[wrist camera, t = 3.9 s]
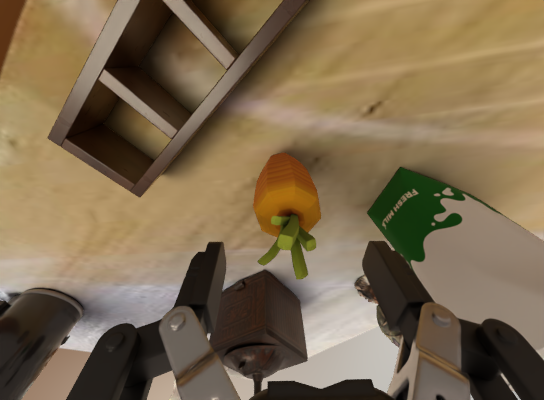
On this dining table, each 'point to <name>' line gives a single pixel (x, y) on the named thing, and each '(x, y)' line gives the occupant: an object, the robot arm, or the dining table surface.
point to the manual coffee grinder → (259, 328)
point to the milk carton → (465, 253)
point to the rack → (149, 87)
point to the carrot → (287, 209)
